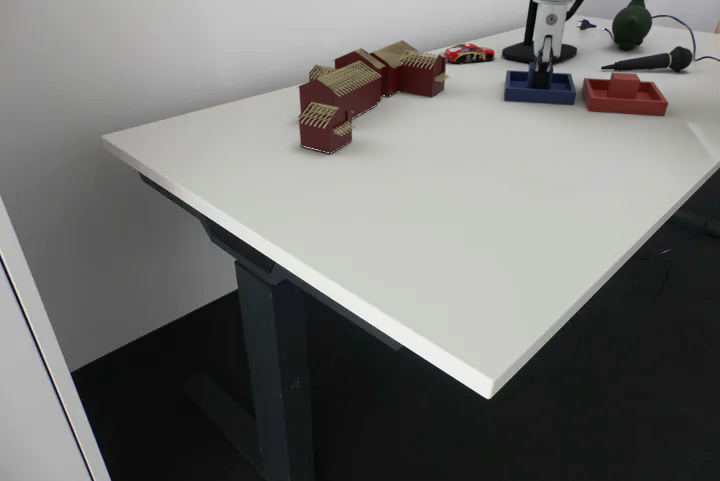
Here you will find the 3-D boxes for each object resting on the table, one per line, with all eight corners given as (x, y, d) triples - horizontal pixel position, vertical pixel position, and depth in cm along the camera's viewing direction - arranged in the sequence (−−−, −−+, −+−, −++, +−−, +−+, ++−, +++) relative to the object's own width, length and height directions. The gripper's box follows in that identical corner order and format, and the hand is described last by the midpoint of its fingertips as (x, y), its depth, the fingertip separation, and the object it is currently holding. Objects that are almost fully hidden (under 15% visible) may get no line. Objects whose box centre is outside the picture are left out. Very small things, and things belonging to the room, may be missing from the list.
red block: (630, 96, 110) (636, 73, 107) (634, 103, 106) (640, 80, 103) (606, 95, 111) (611, 72, 108) (609, 102, 107) (615, 78, 104)
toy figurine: (610, 41, 159) (604, 53, 139) (626, -30, 151) (623, -29, 131) (645, 44, 156) (644, 56, 136) (663, -29, 147) (666, -28, 127)
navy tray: (568, 85, 118) (571, 73, 117) (573, 105, 107) (576, 92, 106) (505, 81, 121) (506, 70, 120) (503, 100, 110) (505, 88, 109)
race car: (488, 56, 141) (490, 40, 139) (498, 61, 136) (500, 44, 134) (441, 59, 138) (442, 43, 136) (449, 65, 134) (450, 48, 132)
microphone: (601, 85, 128) (691, 75, 125) (606, 63, 124) (699, 53, 121) (595, 72, 131) (683, 62, 129) (600, 50, 127) (690, 40, 125)
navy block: (548, 85, 115) (552, 63, 113) (549, 92, 111) (553, 69, 109) (526, 84, 116) (529, 62, 114) (526, 90, 112) (530, 68, 110)
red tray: (650, 94, 113) (653, 81, 111) (664, 116, 102) (668, 102, 100) (581, 90, 115) (584, 77, 114) (588, 111, 104) (591, 97, 103)
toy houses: (375, 74, 127) (375, 29, 122) (455, 87, 118) (459, 39, 113) (245, 136, 95) (237, 78, 90) (342, 160, 86) (340, 98, 81)
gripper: (578, 1, 96) (559, 101, 106) (571, -13, 110) (554, 77, 120) (535, -1, 98) (519, 98, 108) (532, -14, 111) (519, 75, 121)
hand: (538, 86), depth 114 cm, fingers closed on navy block, 4 cm apart
